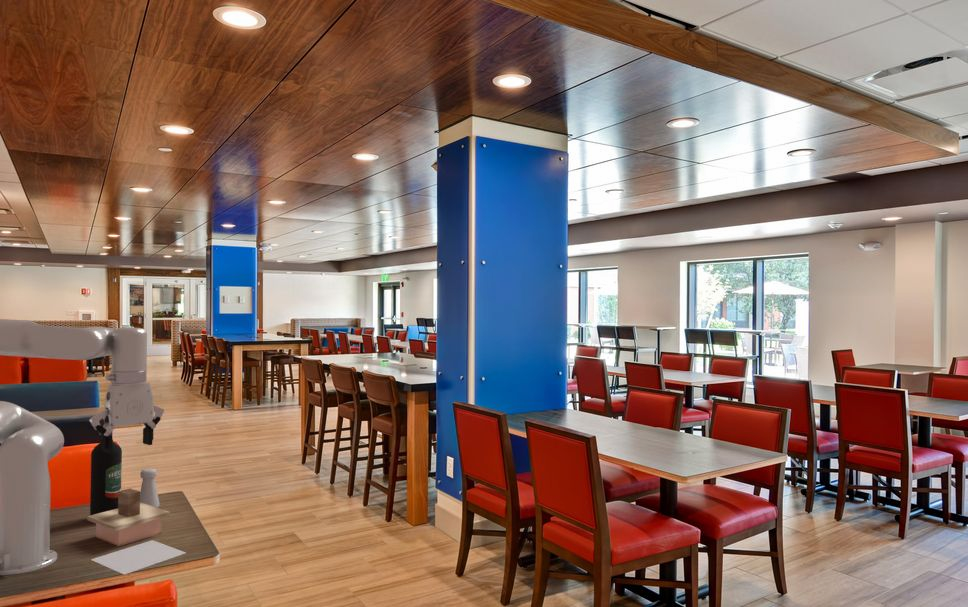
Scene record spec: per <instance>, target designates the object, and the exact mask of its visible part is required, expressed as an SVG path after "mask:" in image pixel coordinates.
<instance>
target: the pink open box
mask: <svg viewBox="0 0 968 607" xmlns="http://www.w3.org/2000/svg"><path fill="white" fill-rule="evenodd" d="M95 524H96V523H95ZM95 529H96V531H95V532H96V534H95V537H96V538H97V539H99V540H102V541H104V542H107V543H108V544H111V545H114V546H116V547H122V546H125V545H129V544H131V543H134V542H137V541H140V540H144V539H147V538H150V537H153V536H156V535H159V534H161V533H162V518H159V519H156V520H152V521H149V522H145V523H142V524H138V525H135V526H131V527H128V528H124V529H120V530H117V531H114V530H111V529H109V528H106V527H104V526H101V525H98V524H96V528H95Z"/></svg>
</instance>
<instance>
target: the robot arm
mask: <svg viewBox="0 0 968 607" xmlns="http://www.w3.org/2000/svg"><path fill="white" fill-rule="evenodd" d="M0 356H8V357H25V358H26V357H27V358H38V359H39V358H40V359H41V358H43V359H53V360H54V359H55V360H73V361H74V360H77V361H86V360H87V361H89V360H94V359H96V358H102V357H107V356H111V368H110V369H111V370H110V374H106V375H105V380H106V381H107V382H110V384H108V386H107V390H106V393H105V399H104V407H103V408H104V409H103V410H101V411H100V412H98V413H97V414H95V415H93V416H92V417H89V422H90V424H91V426H92V427H93V430H94V431H95V432H97V433H98V435H100V436H101V437H100V442H101V448H102V450H103V451H104V452H108V453H109V452H112V438H113V434H112V435H110V433H111V432H112V431H114V430H115V429H116V428H117V427H118V428H120V427H121V428H122V427H130V426H135V425H143V426H144V427H143V428H142V444H144V445H147V446H153V440H154V429H155V428H156V427H157V425H158V424H159V422H161V419H162V416H163V414H164V412H165V410H164V408H161V407H159V406H156V405H154V398H153V392H152V387H151V386H152V385H151V383H150V382H148V381H147V369H148V368H147V364H148V363H147V361H148V360H147V359H148V332H147V330H146V329H144V328H142V327H119V328H113V327H106V326H89V327H76V326H75V327H74V326H57V325H47V324H40V323H37V322H35V321H32V320H27V319H9V318H8V319H7V318H0ZM103 418H104V423H105V425H104V426H103V427H102V424H101V422H100V421H102V420H101V419H103ZM64 443H65V437H64V434H63V432H62V431H61V429H60V428H59V427H57V426H56V425H55V424H53V423H51V422H50V421H48V420H46V419H44V418H42V417H41V416H39V415H37V414H35V413H33V412H31V411H29V410H27V409H25V408H24V407H22V406H19V405H18V404H15V403H13V402H9V401H4V400H0V576H7V575H8V576H9V575H18V574H25V573H29V572H33V571H37V570H40V569H43V568H45V567H47V566H50V565H51V564H53V563H55V562H56V560H57V559H58V552H57V551H55V550H52V549H50V542H51V541H50V539H51V538H50V537H51V536H50V535H51V534H50V532H51V477H50V471H49V466H48V465H49V464H48V462H49V461H50V460H51V459H53V458H55V457H56V456H58V454H60V452H61V451H62V449H63V448H64V445H65V444H64Z"/></svg>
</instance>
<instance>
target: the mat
mask: <svg viewBox="0 0 968 607" xmlns="http://www.w3.org/2000/svg"><path fill="white" fill-rule="evenodd" d="M185 554H187V552H185V551H183V550H180V549H177V548H175V547H173V546H169V545H166V544H164V543H161V542H159V541H155V540H153V539H152V540H149V541H145V542H142V543H140V544H139V543H138V544H136V545H133V546H130V547H127V548H124V549H119V550H117V551H113V552H110V553H107V554H104V555H101V556H100V555H99V556H98V557H94V558H92V559H90V560H91V561H92V562H95V563H97V564H100V565H101V566H103V567H106V568H108V569H110V570H112V571H114V572H117V573H120V574H121V575H124V576H125V575H128V574H130V573H133V572H136V571H139V570H142V569H145V568H147V567H151V566H153V565H157V564H158V563H161V562H165V561H168V560H170V559H173V558H176V557H179V556H182V555H185Z"/></svg>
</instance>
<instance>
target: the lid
mask: <svg viewBox="0 0 968 607" xmlns="http://www.w3.org/2000/svg"><path fill="white" fill-rule="evenodd" d="M140 491H141V490H136V489H134V488H125V489H121V491H119V492H118V509H114V510H110V511H106V512H102V513H98V514H94V515H91V516H90V515H87V516H86V517H87V518H86V521H89V522H90V523H94V524H98V525H101V526H104V527H106V528H109V529H111V530H114V531H117V530H120V529H124V528H128V527H131V526H135V525H138V524H142V523H145V522H149V521H152V520H156V519H159V518H161V519H163V518H166V517H169V516H170V514H171V513H170V511H168V510H165V509H163V508H162V509H161V508H160V507H159V508H156V507H153V506H150V505H147V504H144V503H140Z"/></svg>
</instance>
